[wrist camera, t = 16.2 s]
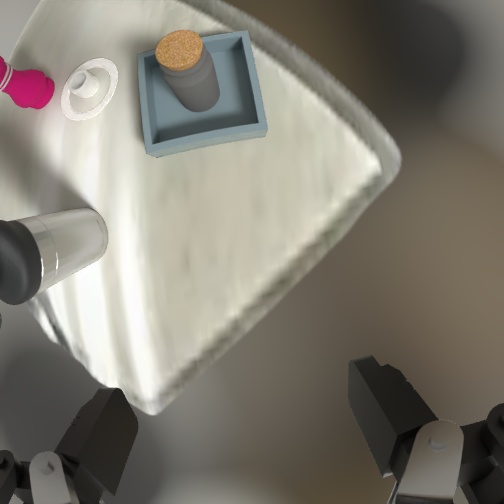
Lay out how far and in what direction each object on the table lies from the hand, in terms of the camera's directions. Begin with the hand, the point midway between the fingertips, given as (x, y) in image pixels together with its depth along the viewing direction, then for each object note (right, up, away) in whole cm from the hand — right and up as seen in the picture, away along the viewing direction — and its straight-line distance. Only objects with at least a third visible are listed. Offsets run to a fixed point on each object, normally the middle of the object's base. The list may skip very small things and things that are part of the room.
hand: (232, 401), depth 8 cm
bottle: (-7, +28, +27) cm, 39 cm away
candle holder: (-27, +32, +27) cm, 50 cm away
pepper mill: (-38, +34, +25) cm, 57 cm away
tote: (-7, +28, +28) cm, 40 cm away
